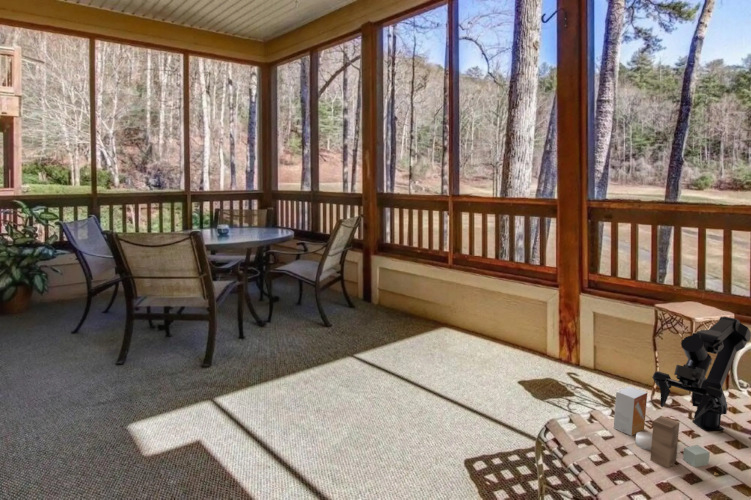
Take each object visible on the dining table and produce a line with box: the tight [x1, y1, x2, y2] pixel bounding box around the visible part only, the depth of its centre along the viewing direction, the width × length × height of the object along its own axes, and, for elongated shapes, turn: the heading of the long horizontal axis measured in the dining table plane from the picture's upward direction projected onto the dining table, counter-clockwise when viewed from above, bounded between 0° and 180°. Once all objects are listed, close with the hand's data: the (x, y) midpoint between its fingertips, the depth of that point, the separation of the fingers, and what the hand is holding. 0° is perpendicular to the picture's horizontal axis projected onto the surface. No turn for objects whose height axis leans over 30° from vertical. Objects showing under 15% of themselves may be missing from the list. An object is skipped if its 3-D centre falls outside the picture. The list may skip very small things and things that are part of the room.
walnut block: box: [649, 415, 680, 469], centre depth 143 cm, size 5×5×12 cm
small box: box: [613, 385, 648, 437], centre depth 161 cm, size 8×6×13 cm
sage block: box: [682, 444, 710, 468], centre depth 143 cm, size 5×4×4 cm
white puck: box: [635, 431, 653, 451], centre depth 152 cm, size 6×6×3 cm
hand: (677, 412), depth 146 cm, fingers open, 9 cm apart
